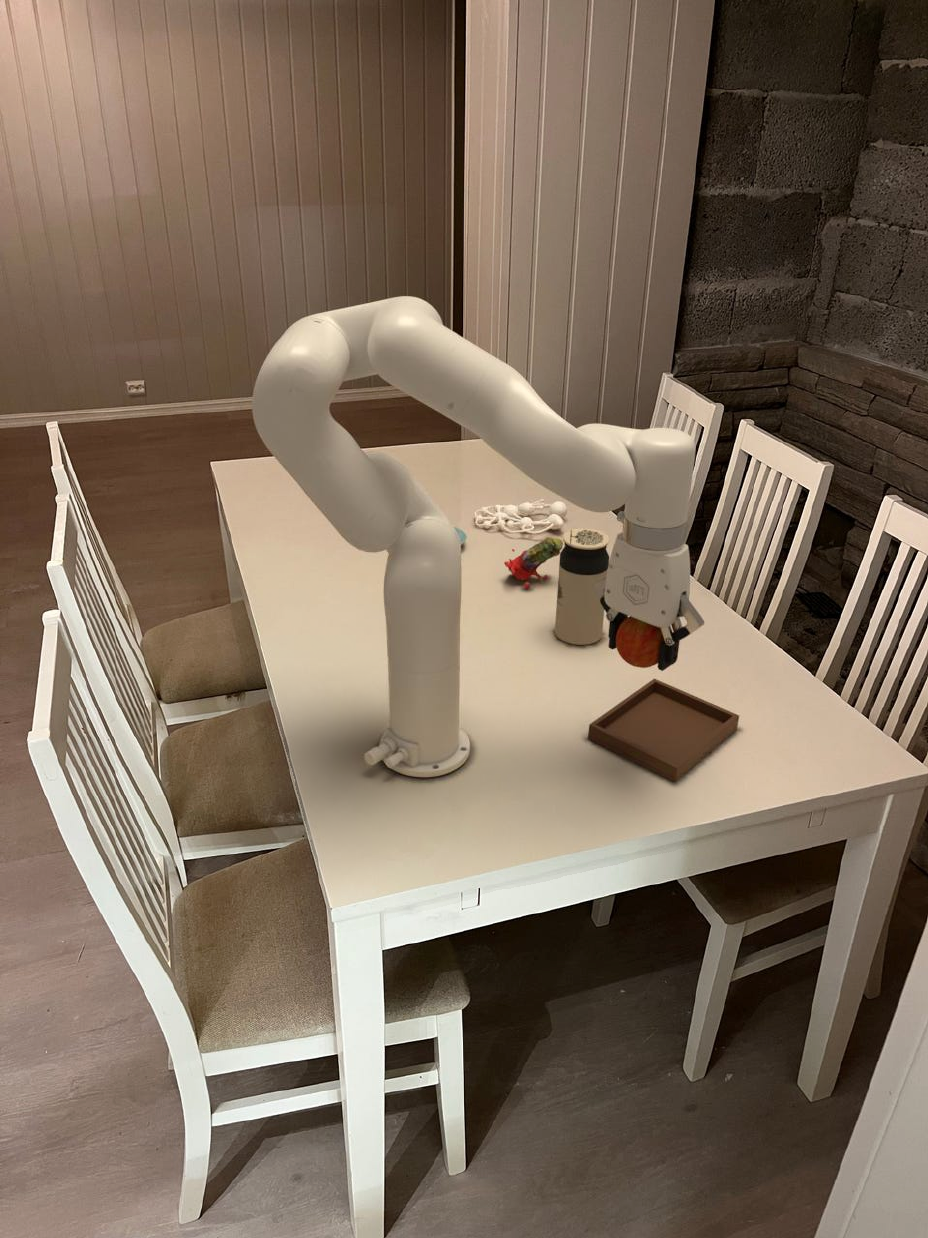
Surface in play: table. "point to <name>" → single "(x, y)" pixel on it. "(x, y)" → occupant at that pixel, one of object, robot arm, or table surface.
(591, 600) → the travel mug
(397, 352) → the robot arm
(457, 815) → the table surface
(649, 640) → the fruit
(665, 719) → the tray
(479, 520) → the tangled rod sculpture
